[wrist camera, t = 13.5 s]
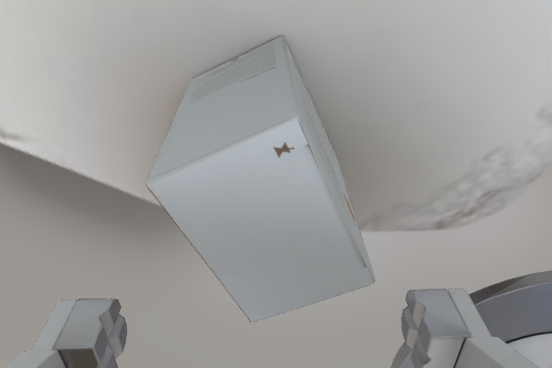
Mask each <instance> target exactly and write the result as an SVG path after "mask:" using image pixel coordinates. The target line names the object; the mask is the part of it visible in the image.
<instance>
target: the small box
mask: <svg viewBox="0 0 552 368" xmlns="http://www.w3.org/2000/svg"><path fill="white" fill-rule="evenodd" d="M146 186H147V188H148V189H149V190H150V191H151V193H152V194H153V195H154V197H155V198H156V199H157V200H158V202H159V203H160V204H161V206H162V207H163V208H164V210H165V211H166V212H167V214H168V215H169V216H170V217H171V219H172V220H173V221H174V223H175V224H176V225H177V227H178V228H179V229H180V230H181V231H182V233H183V234H184V236H185V237H186V238H187V239H188V241H189V242H190V243H191V245H192V246H193V247H194V248H195V250H196V251H197V252H198V254H199V255H200V256H201V257H202V259H203V260H204V261H205V263H206V264H207V265H208V267H209V268H210V269H211V271H212V272H213V273H214V274H215V276H216V277H217V278H218V280H219V281H220V282H221V283H222V285H223V286H224V287H225V289H226V290H227V291H228V293H229V294H230V295H231V297H232V298H233V299H234V300H235V302H236V303H237V305H238V306H239V307H240V309H241V310H242V311H243V312H244V314H245V315H246V316H247V318H248V319H249V321H250V322H255V321H259V320H262V319H266V318H269V317H272V316H276V315H279V314H282V313H285V312H288V311H291V310H294V309H297V308H300V307H303V306H307V305H310V304H313V303H316V302H319V301H322V300H326V299H328V298H332V297H335V296H338V295H341V294H344V293H347V292H350V291H354V290H356V289H360V288H362V287H366V286H369V285H371V284H373V283H374V282H375V277H374V274H373V270H372V267H371V264H370V261H369V258H368V254H367V251H366V248H365V245H364V242H363V239H362V236H361V232H360V229H359V226H358V223H357V220H356V216H355V213H354V210H353V207H352V204H351V201H350V198H349V194H348V191H347V188H346V185H345V182H344V178H343V175H342V172H341V169H340V165H339V162H338V159H337V156H336V154H335V152H334V150H333V148H332V145H331V143H330V141H329V138H328V136H327V134H326V132H325V129H324V127H323V125H322V122H321V120H320V118H319V116H318V113H317V111H316V109H315V106H314V104H313V102H312V100H311V97H310V95H309V93H308V90H307V88H306V86H305V84H304V81H303V79H302V77H301V74H300V72H299V70H298V68H297V65H296V63H295V61H294V59H293V56H292V54H291V52H290V49H289V47H288V44H287V42H286V40H285V37H284V36H280V37H278V38H276V39H274V40H272V41H270V42H268V43H265V44H263V45H261V46H259V47H257V48H255V49H253V50H251V51H249V52H247V53H244V54H242V55H240V56H238V57H236V58H234V59H232V60H230V61H228V62H226V63H223V64H221V65H219V66H217V67H215V68H213V69H211V70H209V71H207V72H205V73H203V74H201V75H199V76H197V77H194V78H192V79H191V80H190V83H189V85H188V87H187V89H186V92H185V94H184V96H183V99H182V101H181V103H180V105H179V108H178V110H177V112H176V115H175V117H174V119H173V121H172V124H171V126H170V128H169V131H168V133H167V135H166V137H165V140H164V142H163V144H162V147H161V149H160V151H159V153H158V156H157V158H156V160H155V163H154V165H153V167H152V170H151V172H150V174H149V177H148V179H147V182H146Z"/></svg>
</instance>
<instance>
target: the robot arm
mask: <svg viewBox="0 0 552 368" xmlns="http://www.w3.org/2000/svg"><path fill="white" fill-rule="evenodd" d="M406 302H407V304H408V306H407V307H406V308H405V309H404V310H403V313H402V318H401V319H402V331H403V335H404V339H405V342H406V344H407V345H408V346H409V347H410V348H411V349H413V352H412V356H411V360H412V363H413V366H414V368H552V333H551V334H542V335H536V336H532V337H527V338H523V339H520V340H517V341H514V342H511V343H508V344H506V343H505V342H504V341H502V340H501V339H500V338H498V337H492V336H491V334H490V332H489V331H488V329H487V327H486V325H485V323H484V322H483V320H482V318H481V316H480V315H479V313H478V311H477V309H476V307H475V306H474V304H473V302H472V300H471V298H470V297H469V295H468V293H467V291H466V290H464V289H463V288H458V289H424V290H409V291H408V293H407V295H406ZM120 309H121V305H120V303H119V300H118V299H61V300H60V301H59V302H58V303H57V304H56V305H55V307H54V309H53V311H52V313H51V315H50V316H49V318H48V320H47V322H46V324H45V326H44V328H43V329H42V331H41V333H40V335H39V337H38V339H37V340H36V342H35V344H34V346H33V348H32V349H31V351H24V352H23V353H22V354H21V355H19V356H18V357H17V358H15V359H14V360H13V361H11V362H10V363H9V364H8V365H6V366H5V367H4V368H118V365H117V363H116V360H115V359H116V358H117V357H118V356H119V355H120V354H121V353H122V352H123V350H124V347H125V343H126V336H127V325H126V321H125V318H124V317H123V316H121V315H120V314H119V312H120Z"/></svg>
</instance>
